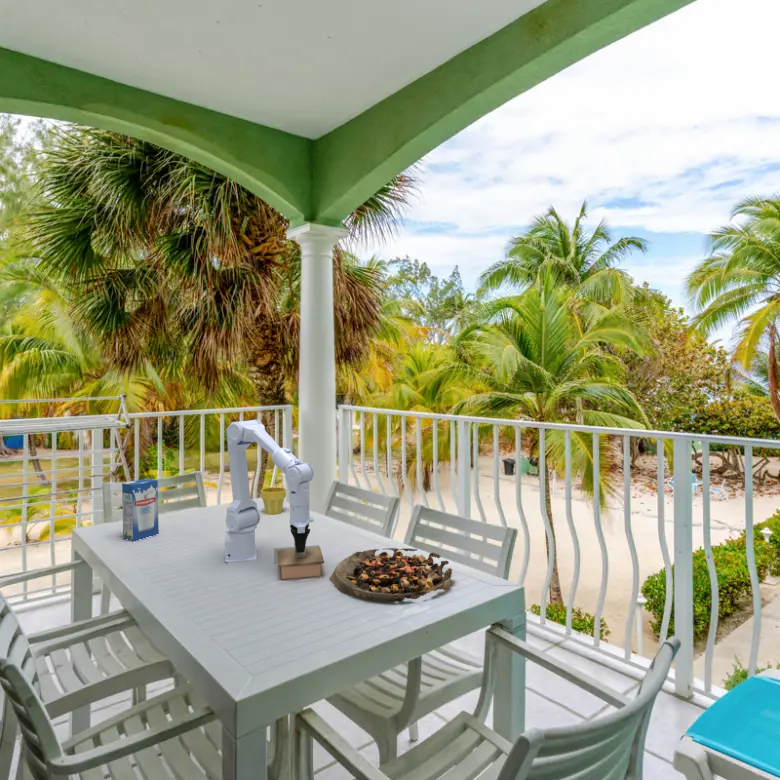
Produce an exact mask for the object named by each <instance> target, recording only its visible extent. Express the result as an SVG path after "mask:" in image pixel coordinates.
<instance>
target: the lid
mask: <svg viewBox="0 0 780 780" xmlns="http://www.w3.org/2000/svg"><path fill="white" fill-rule="evenodd" d="M293 541H294V540H293ZM293 543H294V546H293V547H295V549H288V550H277V556H278V564H277V568H281V567H286V566H298V565H309V564H321V565H322V564H325V560H324V556H323V553H322V548H321V546H319V547H313V548H305V551H304V552H302V553H297V551H296V546H295V541H294V542H293Z"/></svg>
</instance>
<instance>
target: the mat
mask: <svg viewBox="0 0 780 780" xmlns="http://www.w3.org/2000/svg"><path fill="white" fill-rule="evenodd" d="M313 547H320V545H319V544H318V545H306V546H305V548H313ZM288 549H295V547H294V546H291V547H290V546H289V547H275V548H274V547H273V561H274V562H273V563H274V565H278V556H277V550H288Z"/></svg>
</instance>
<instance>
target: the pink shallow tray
mask: <svg viewBox="0 0 780 780" xmlns="http://www.w3.org/2000/svg"><path fill="white" fill-rule="evenodd" d="M321 565H322V563H321V564H309V565H298V566H286V567H280V568H281V569H280V571H281V580H282V581H283V582H284V581H286V582H287V580H289V579H290V580H292V579H294V581H295V580H296V581H297V580H299V579H304V578H306V580H307V579H311V578H312V577H313V578H317V577H318V579H320V578H321V570H322V569H321Z"/></svg>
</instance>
